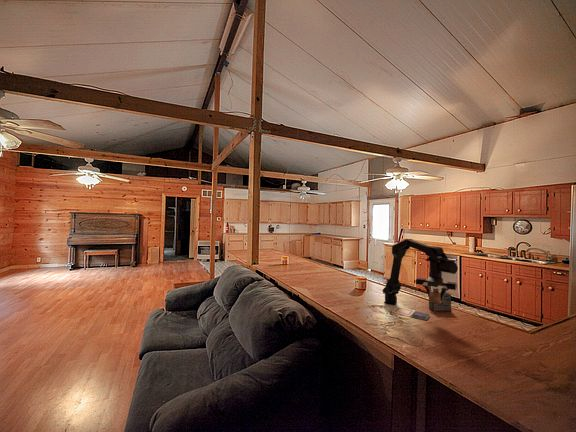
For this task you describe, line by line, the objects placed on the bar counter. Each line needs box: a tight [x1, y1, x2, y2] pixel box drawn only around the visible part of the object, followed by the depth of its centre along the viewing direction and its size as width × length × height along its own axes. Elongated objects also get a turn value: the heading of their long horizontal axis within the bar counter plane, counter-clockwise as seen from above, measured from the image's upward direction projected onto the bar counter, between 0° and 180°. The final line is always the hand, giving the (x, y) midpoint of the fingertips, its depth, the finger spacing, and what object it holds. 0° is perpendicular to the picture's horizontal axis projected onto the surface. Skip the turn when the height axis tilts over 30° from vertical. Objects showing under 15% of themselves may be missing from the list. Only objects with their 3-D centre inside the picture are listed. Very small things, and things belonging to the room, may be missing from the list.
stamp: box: [428, 287, 442, 305], centre depth 138 cm, size 5×5×8 cm
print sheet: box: [391, 306, 417, 317], centre depth 153 cm, size 10×12×1 cm
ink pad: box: [410, 310, 431, 321], centre depth 145 cm, size 8×8×1 cm
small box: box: [428, 291, 452, 313], centre depth 156 cm, size 11×6×10 cm, turn 84°
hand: (435, 299), depth 138 cm, fingers closed on stamp, 5 cm apart
